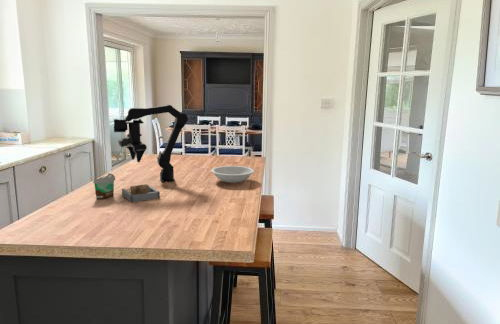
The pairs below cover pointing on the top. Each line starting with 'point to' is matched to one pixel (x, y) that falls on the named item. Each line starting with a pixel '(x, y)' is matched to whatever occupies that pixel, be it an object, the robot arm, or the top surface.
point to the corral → (141, 195)
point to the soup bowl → (232, 173)
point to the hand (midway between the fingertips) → (135, 160)
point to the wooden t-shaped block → (139, 189)
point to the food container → (104, 187)
